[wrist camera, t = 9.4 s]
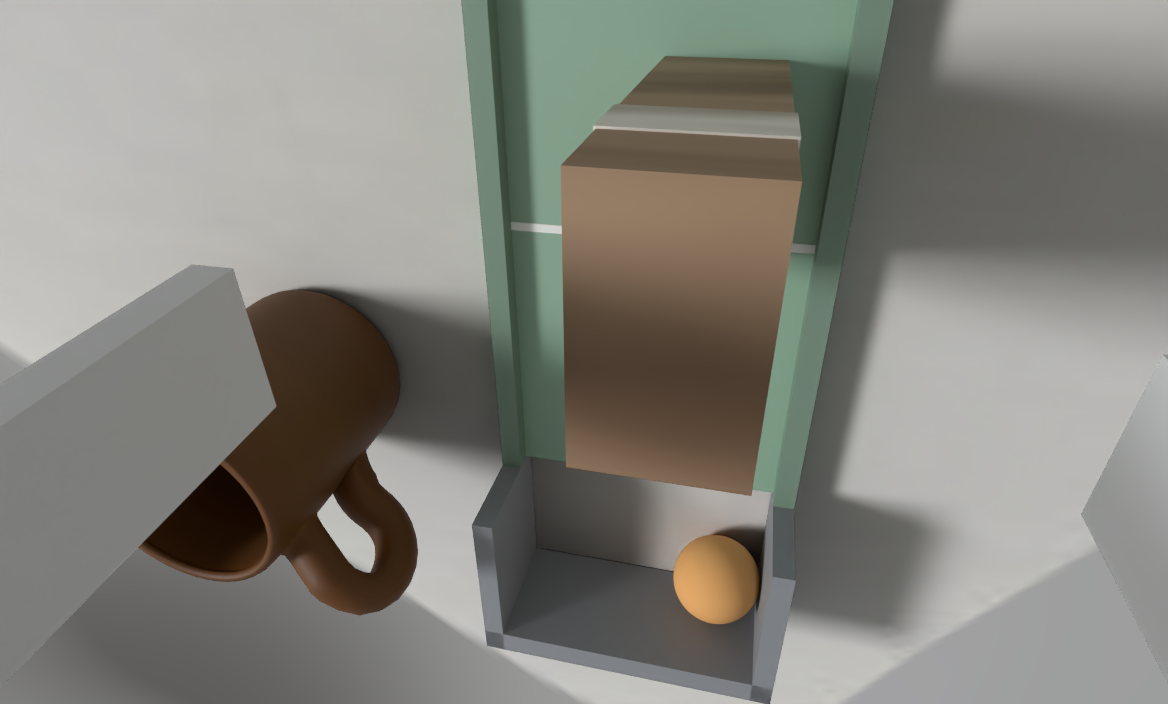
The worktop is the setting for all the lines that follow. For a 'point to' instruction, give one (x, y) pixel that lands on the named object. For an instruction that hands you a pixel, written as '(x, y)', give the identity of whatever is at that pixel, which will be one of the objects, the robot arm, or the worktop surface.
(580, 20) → the pitch
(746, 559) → the ball
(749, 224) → the block
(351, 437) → the mug
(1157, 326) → the worktop surface
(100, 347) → the robot arm
